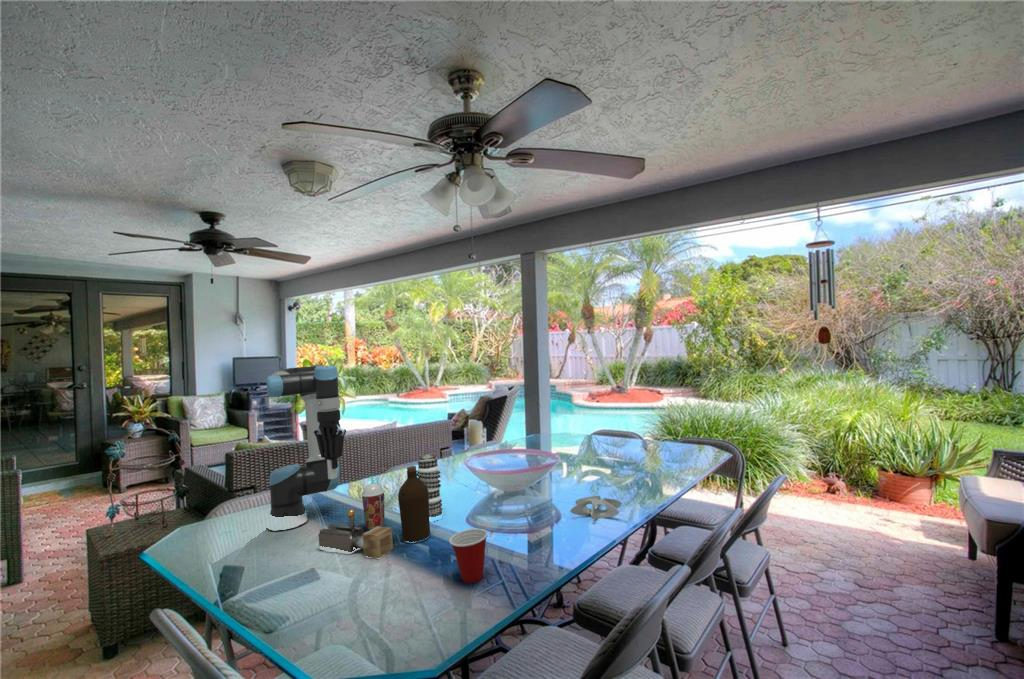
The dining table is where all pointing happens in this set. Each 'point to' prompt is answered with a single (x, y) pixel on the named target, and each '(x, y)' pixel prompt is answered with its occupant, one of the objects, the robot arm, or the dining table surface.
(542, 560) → the dining table surface
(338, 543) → the outer sleeve
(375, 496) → the smoothie
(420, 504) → the olive oil
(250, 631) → the dining table surface
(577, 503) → the sculpture
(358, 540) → the ball knob lever
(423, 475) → the decorative candle
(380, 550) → the socket block
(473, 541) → the plastic cup
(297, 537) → the dining table surface
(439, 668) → the dining table surface
